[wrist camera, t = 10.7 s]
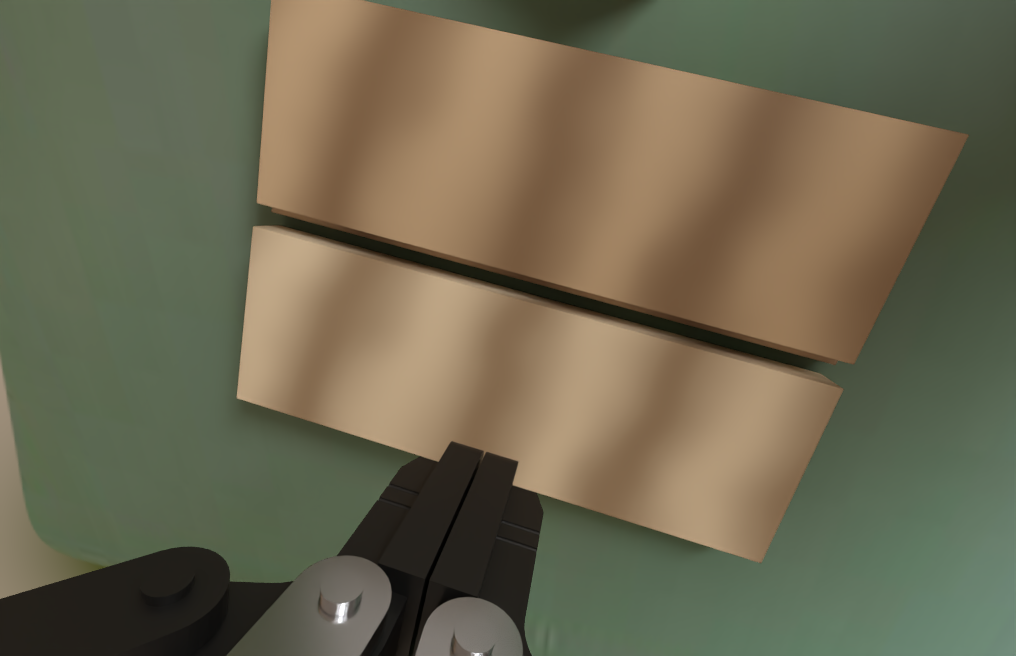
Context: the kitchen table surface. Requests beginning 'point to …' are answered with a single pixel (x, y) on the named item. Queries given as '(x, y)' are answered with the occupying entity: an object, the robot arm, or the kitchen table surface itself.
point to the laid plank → (596, 172)
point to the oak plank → (531, 388)
